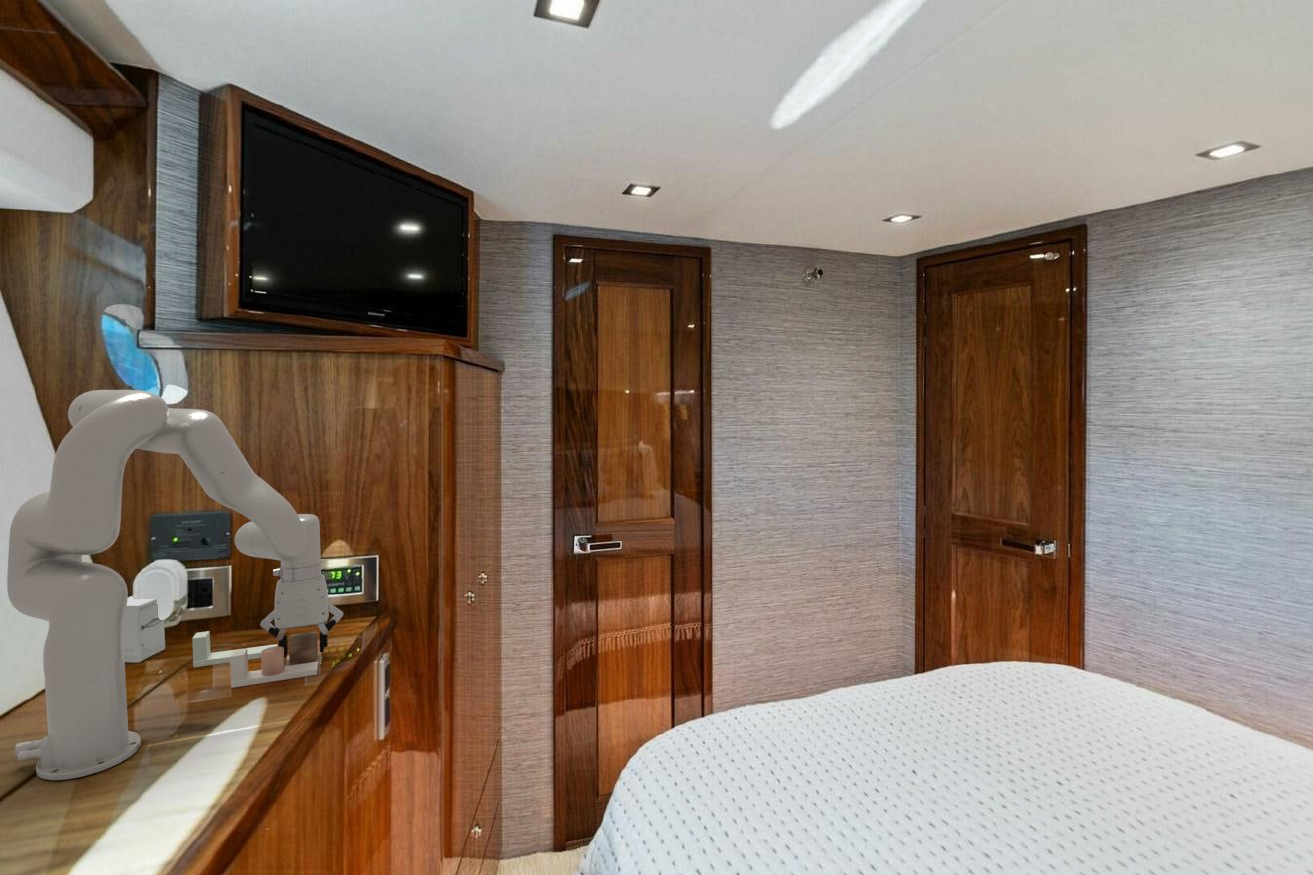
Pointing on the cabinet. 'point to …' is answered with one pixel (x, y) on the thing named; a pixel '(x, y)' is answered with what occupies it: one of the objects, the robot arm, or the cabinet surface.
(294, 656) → the block
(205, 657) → the white l-shaped piece
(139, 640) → the supplement box
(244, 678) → the strip
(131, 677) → the cabinet surface
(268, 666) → the pink cylinder
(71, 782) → the cabinet surface
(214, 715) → the cabinet surface
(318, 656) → the pad
